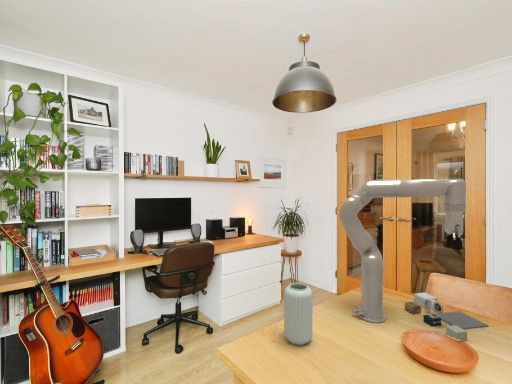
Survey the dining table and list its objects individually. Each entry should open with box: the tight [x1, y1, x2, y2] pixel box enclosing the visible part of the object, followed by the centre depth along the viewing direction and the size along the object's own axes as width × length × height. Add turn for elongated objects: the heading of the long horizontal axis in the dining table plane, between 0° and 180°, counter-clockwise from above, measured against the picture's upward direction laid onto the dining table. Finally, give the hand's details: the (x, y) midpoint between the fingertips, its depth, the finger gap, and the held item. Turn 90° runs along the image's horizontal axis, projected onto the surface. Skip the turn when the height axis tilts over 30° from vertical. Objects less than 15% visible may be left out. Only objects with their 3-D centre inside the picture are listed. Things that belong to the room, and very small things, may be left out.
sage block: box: [445, 325, 468, 342], centre depth 113 cm, size 5×5×4 cm
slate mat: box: [433, 310, 489, 330], centre depth 128 cm, size 16×14×1 cm
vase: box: [283, 282, 314, 346], centre depth 111 cm, size 12×12×22 cm
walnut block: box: [404, 301, 422, 315], centre depth 137 cm, size 5×5×4 cm
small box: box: [413, 292, 438, 309], centre depth 145 cm, size 8×8×5 cm
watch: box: [422, 299, 444, 328], centre depth 125 cm, size 6×8×11 cm
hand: (453, 247), depth 117 cm, fingers open, 9 cm apart
